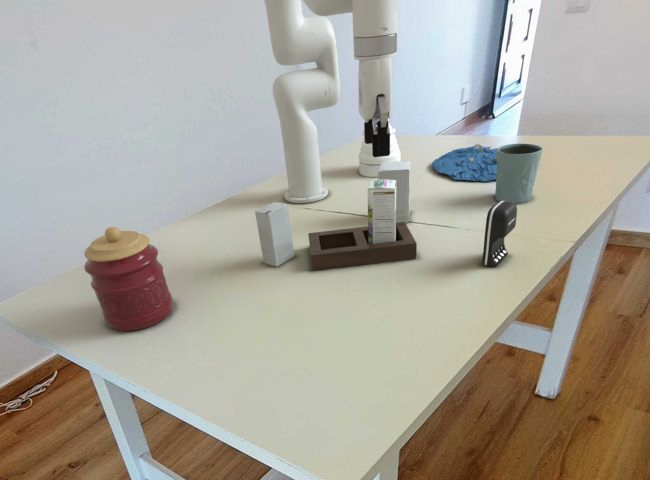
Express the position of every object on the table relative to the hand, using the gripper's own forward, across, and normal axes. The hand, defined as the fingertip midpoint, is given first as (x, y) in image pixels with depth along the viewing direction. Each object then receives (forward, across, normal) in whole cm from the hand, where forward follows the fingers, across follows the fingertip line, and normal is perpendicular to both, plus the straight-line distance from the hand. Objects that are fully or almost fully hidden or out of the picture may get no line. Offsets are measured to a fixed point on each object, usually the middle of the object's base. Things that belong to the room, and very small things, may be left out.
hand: (376, 149), depth 97 cm
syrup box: (+21, +1, +1) cm, 21 cm away
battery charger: (+21, +12, +22) cm, 33 cm away
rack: (+21, +1, -4) cm, 22 cm away
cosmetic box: (+22, 0, -22) cm, 31 cm away
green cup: (+22, -21, +38) cm, 49 cm away
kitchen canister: (+21, +16, -49) cm, 56 cm away
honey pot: (+22, -57, +10) cm, 62 cm away
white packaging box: (+22, -17, +7) cm, 29 cm away
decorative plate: (+22, -49, +40) cm, 67 cm away
